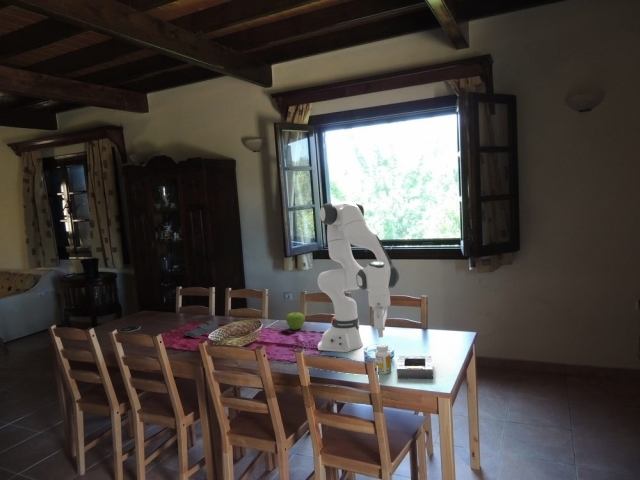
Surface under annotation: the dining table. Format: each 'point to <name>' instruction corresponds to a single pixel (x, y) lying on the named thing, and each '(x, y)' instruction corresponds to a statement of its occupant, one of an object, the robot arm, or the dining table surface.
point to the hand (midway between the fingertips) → (381, 333)
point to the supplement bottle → (383, 359)
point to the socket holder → (415, 367)
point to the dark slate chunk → (203, 329)
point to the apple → (295, 320)
